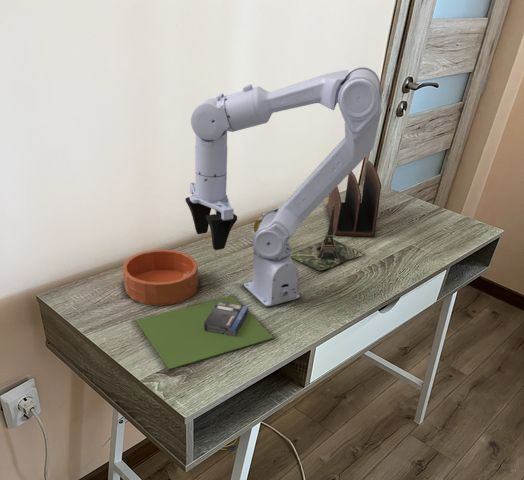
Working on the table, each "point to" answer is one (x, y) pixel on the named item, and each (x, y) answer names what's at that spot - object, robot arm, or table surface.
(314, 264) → the eiffel tower figurine
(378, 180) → the letter holder
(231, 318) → the mini dv tape
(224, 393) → the table surface
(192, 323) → the cloth
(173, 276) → the pot
